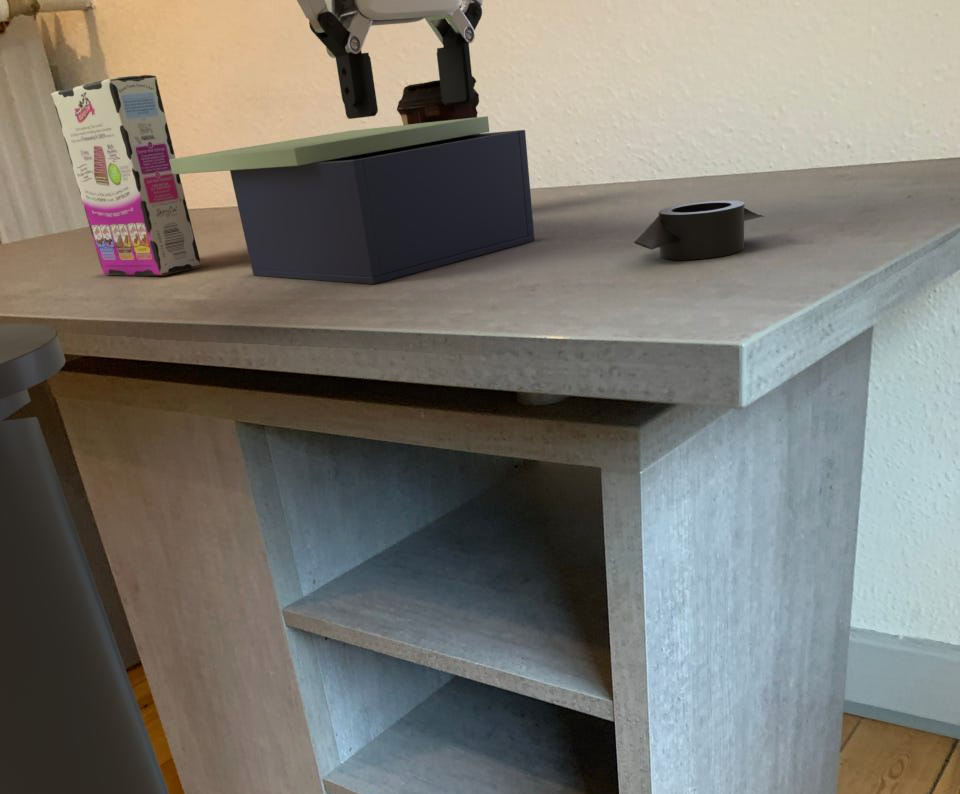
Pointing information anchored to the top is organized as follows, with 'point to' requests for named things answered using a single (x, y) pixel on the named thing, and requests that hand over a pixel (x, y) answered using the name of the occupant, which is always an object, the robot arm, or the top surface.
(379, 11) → the robot arm
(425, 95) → the dark brown block
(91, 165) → the candy bar box
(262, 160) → the bin lid
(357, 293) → the top surface
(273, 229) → the bin
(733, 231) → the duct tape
